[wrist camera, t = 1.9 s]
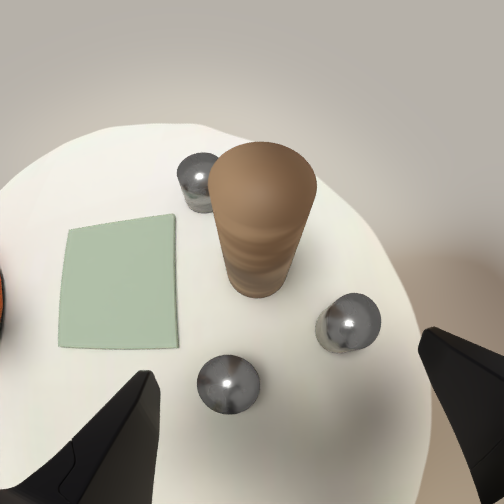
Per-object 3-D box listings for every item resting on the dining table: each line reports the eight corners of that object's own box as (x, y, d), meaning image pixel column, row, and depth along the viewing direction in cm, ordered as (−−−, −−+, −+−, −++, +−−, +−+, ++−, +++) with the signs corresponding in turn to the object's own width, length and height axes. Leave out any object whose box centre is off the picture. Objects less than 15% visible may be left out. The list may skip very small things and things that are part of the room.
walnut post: (230, 301, 22) (209, 233, 11) (225, 245, 24) (206, 146, 13) (290, 294, 23) (328, 221, 12) (281, 239, 24) (303, 139, 13)
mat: (61, 347, 20) (58, 346, 20) (71, 232, 25) (68, 230, 24) (178, 347, 21) (176, 347, 20) (175, 216, 25) (173, 213, 25)
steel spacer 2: (209, 407, 19) (200, 415, 15) (204, 358, 20) (194, 357, 17) (261, 403, 19) (263, 411, 15) (255, 354, 21) (255, 351, 17)
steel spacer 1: (185, 215, 25) (176, 190, 22) (185, 182, 27) (177, 155, 23) (227, 210, 26) (224, 184, 22) (224, 177, 27) (221, 150, 24)
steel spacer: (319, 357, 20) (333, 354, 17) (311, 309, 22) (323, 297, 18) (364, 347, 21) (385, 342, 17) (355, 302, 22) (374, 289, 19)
